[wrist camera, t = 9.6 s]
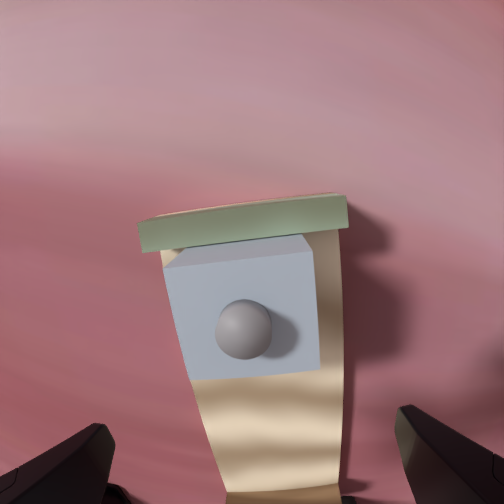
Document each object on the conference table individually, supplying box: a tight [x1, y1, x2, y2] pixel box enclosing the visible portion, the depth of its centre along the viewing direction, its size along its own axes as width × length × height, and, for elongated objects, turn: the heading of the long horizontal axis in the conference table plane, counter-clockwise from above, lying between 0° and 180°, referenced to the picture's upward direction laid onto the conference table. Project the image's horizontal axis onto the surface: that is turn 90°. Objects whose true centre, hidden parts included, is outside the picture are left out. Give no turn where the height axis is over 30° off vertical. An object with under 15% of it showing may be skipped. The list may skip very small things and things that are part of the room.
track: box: [137, 193, 349, 504], centre depth 19 cm, size 26×10×4 cm, turn 7°
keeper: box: [163, 233, 320, 380], centre depth 14 cm, size 5×6×7 cm
